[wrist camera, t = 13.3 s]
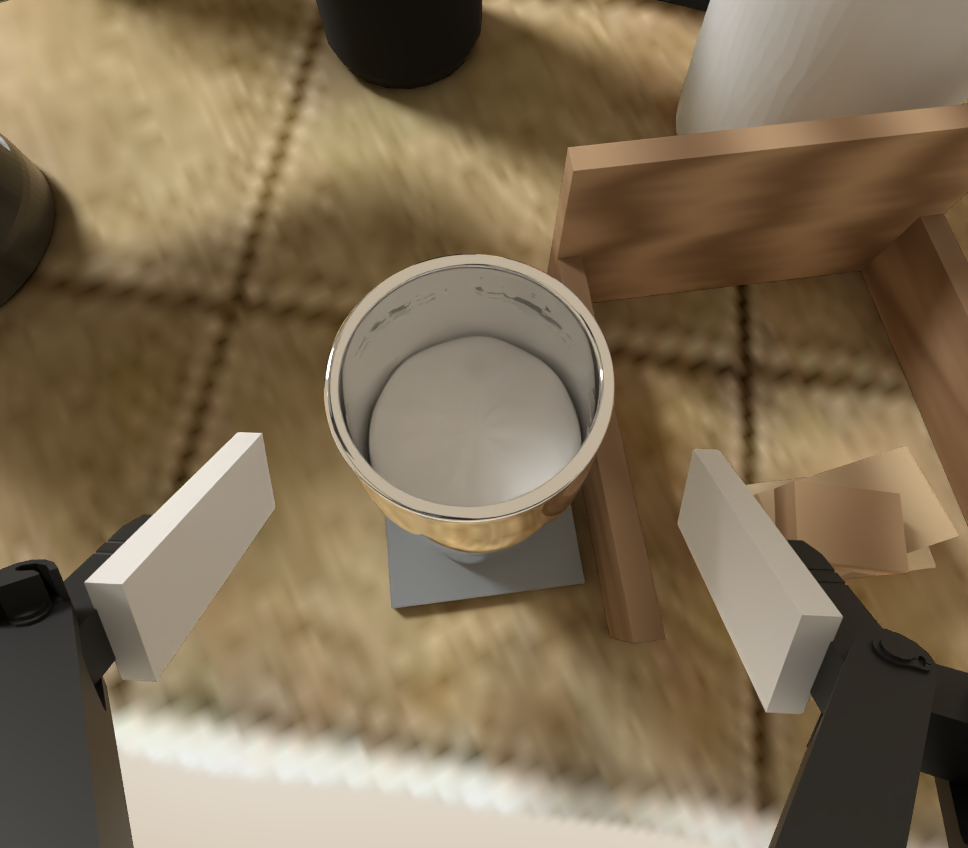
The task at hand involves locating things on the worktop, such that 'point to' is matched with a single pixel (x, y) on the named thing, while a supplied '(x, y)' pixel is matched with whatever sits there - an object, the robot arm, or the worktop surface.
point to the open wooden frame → (772, 267)
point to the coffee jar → (402, 37)
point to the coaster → (480, 567)
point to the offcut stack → (862, 515)
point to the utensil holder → (822, 61)
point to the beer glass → (470, 401)
